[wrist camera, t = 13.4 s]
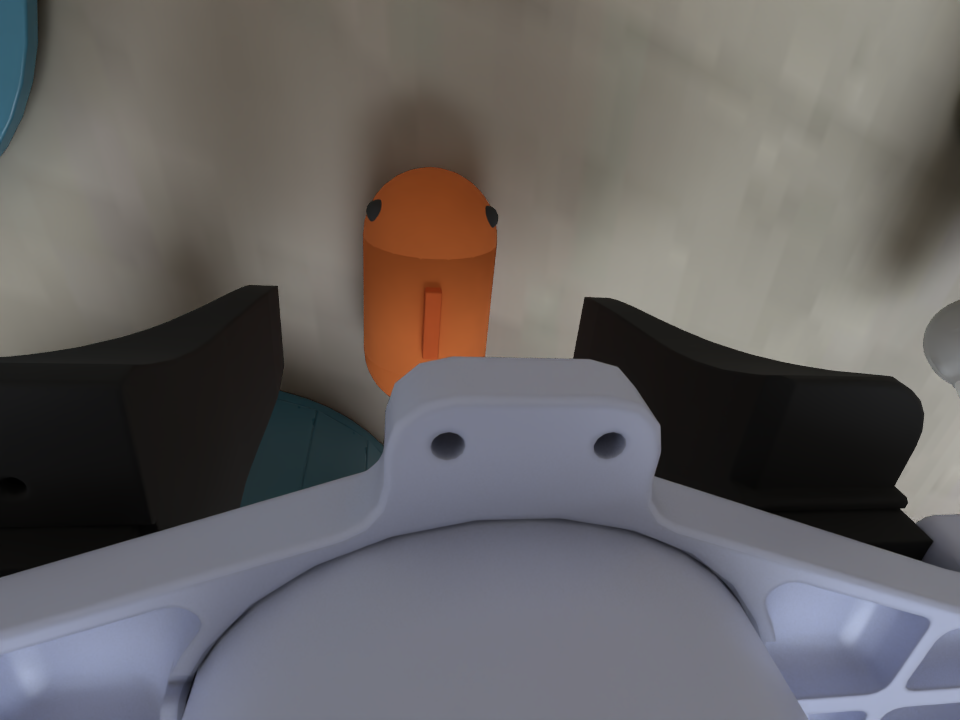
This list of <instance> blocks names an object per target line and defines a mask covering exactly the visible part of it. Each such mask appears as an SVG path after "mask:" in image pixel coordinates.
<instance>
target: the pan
mask: <svg viewBox="0 0 960 720" xmlns="http://www.w3.org/2000/svg"><path fill="white" fill-rule="evenodd" d="M383 448H384V446H383V445H382V444H381V443H379V442H378V441H377V440H376V439H375V438H374V437H373V436H372V435H371V434H370V433H368V432H367V431H366V430H365V429H363V428H362V427H360V426H359V425H357V424H356V423H355V422H353V421H352V420H350V419H349V418H347V417H345V416H343V415H342V414H340V413H338V412H336V411H334V410H332V409H330V408H329V407H327V406H324V405H322V404H319V403H317V402H314V401H311V400H309V399H306V398H304V397H300V396H297V395H293V394H290V393H286V392H283V391H279V394H278V398H277V401H276V404H275V406H274V409H273V412H272V414H271V417H270V420H269V422H268V425H267V427H266V430H265V433H264V435H263V438H262V440H261V443H260V445H259V448H258V451H257V453H256V456H255V458H254V461H253V463H252V466H251V469H250V472H249V475H248V478H247V481H246V484H245V488H244V492H243V496H242V501H241V505H240V508H241V507H244V506H248V505H251V504H254V503H258V502H261V501H265V500H268V499H272V498H275V497H278V496H282V495H285V494H289V493H292V492H296V491H299V490H302V489H306V488H309V487H313V486H316V485H320V484H323V483H326V482H330V481H333V480H337V479H340V478H344V477H347V476H350V475H354V474H357V473H361V472H364V471H367V470H368V469H370V468H371V467H372V466H373V465H374V464H375V463H376V462H378V460H379V459H380V457H381V455H382V453H383Z"/></svg>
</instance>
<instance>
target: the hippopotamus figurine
mask: <svg viewBox="0 0 960 720" xmlns="http://www.w3.org/2000/svg"><path fill="white" fill-rule="evenodd" d="M923 348H924V353H925V356H926V358H927V360H928V362H929V364H930V366H931V367H932V369H933V370H934V372H935V373H936V374H937V375H938V376H939V377H941V378H942V379H943V380H945V381H946V382H948V383H950V384H952V386H953V387H954V388H955V389H956V391H957V394H958V396H959V398H960V300H958V301H955V302H953V303H951V304H949V305H947V306H946V307H944V308H943V309H942V310H940V311H939V312H938V313H937V314H936V315H935V316H934V317H933V318H932V319H931V321H930V323H929V324H928V326H927V328H926V330H925V333H924V338H923Z"/></svg>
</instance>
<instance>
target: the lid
mask: <svg viewBox="0 0 960 720" xmlns="http://www.w3.org/2000/svg"><path fill="white" fill-rule="evenodd" d="M37 46H38V19H37V0H0V156H1V155H2V154H3V152H4V151H5V150H6V148H7V147H8V145H9V143H10V141H11V139H12V137H13V135H14V133H15V131H16V129H17V127H18V125H19V123H20V121H21V119H22V117H23V114H24V110H25V107H26V104H27V100H28V97H29V93H30V90H31V87H32V83H33V77H34V69H35V62H36V54H37Z"/></svg>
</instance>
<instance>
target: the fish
mask: <svg viewBox="0 0 960 720" xmlns="http://www.w3.org/2000/svg"><path fill="white" fill-rule="evenodd" d="M366 213H367V214H366V218H365V221H364V231H363V272H364V351H365V359H366V364H367V367H368V370H369V372H370V374H371V376H372V378H373V379H374V381H375V382H376V384H377V385H378V386H379V387H380V388H381V390H382V391H384V392H385V393H386V394H387V395H388V396H389V397H390V396H391V393H392V390H393V387H394V384H395V383H396V382H397V381H398V380H400V379H401V378H402V377H403V376H405V375H406V374H407V373H408V372H409V371H411V370H412V369H413V368H414V367H416V366H417V365H418V364H419V363H424V362H428V361H433V360H438V359H443V358H447V357H452V356H457V357H485V351H486V341H487V332H488V322H489V313H490V303H491V294H492V284H493V275H494V265H495V256H496V246H497V229H496V224H497V222H498V214H497V212H496V210H495V209H494V208H493V207H491V206H490V205H489V203H488V201H487V200H486V198H485V197H484V196H483V194H482V193H481V191H480V190H479V189H478V188H477V187H476V186H474V185H473V184H472V183H471V182H470V181H469V180H467V179H466V178H464V177H462V176H461V175H459V174H457V173H455V172H452V171H449V170H446V169H442V168H436V167H424V168H418V169H412V170H409V171H406V172H404V173H402V174H399V175H397V176H396V177H394V178H393V179H392V180H390V181H389V182H387V183H386V184H385V185H384V186H383V187H382V188H381V189H380V190H379V192H378V193H377V194H376V196H375V197H374V199H373V201H372V202H370V203H369V205H368V206H367V210H366Z"/></svg>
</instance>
